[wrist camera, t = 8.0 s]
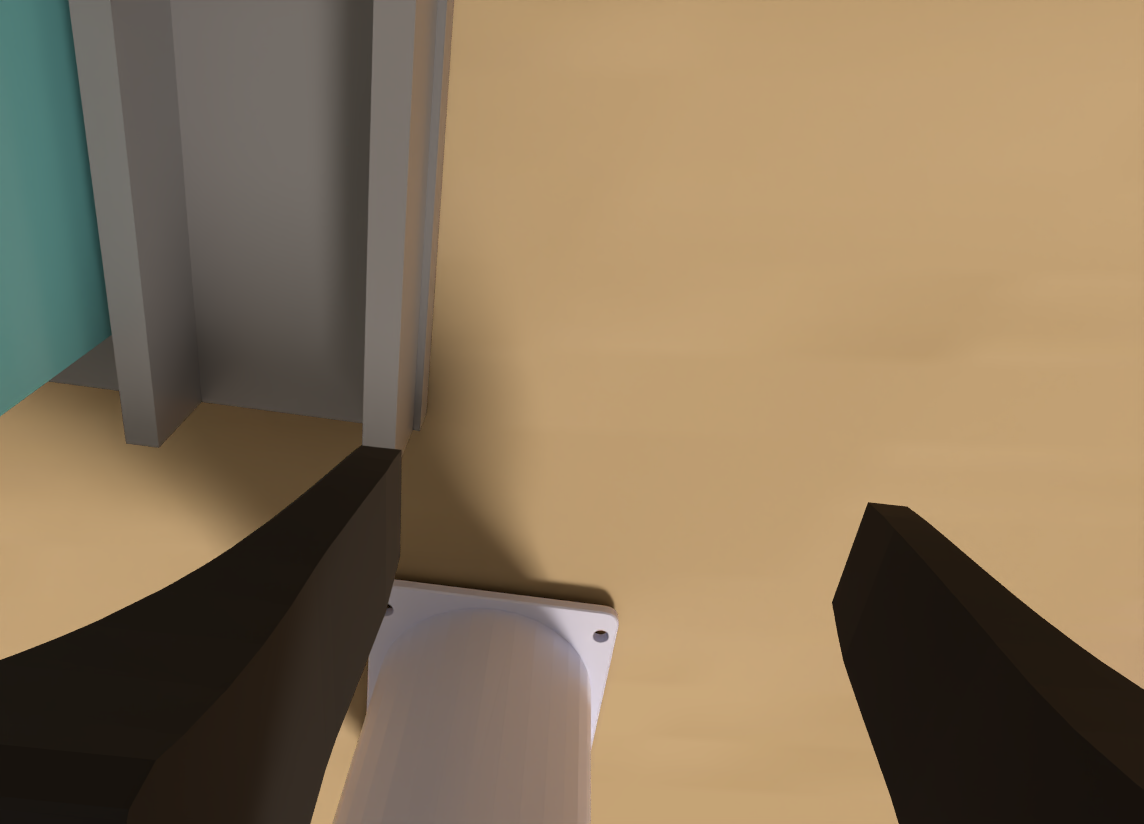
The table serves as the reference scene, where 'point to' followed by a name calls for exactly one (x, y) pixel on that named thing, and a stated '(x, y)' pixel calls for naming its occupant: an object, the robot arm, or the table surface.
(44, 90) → the tall teal block
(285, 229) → the rack
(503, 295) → the table surface
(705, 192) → the table surface
